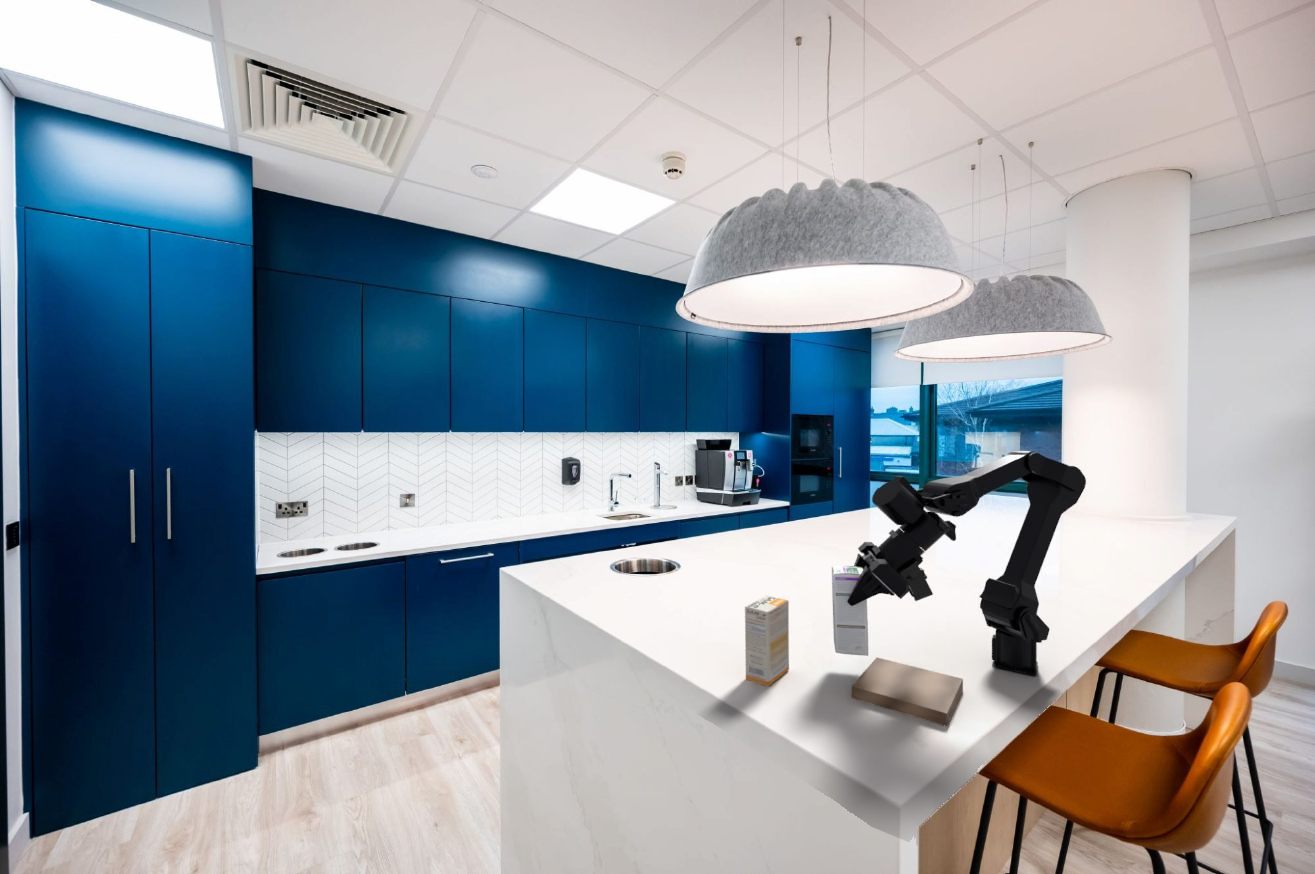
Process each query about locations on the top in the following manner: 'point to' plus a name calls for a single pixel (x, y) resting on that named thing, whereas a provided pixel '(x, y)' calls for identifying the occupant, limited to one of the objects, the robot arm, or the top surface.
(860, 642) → the syrup box
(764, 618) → the supplement box
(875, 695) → the walnut block
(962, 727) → the top surface
